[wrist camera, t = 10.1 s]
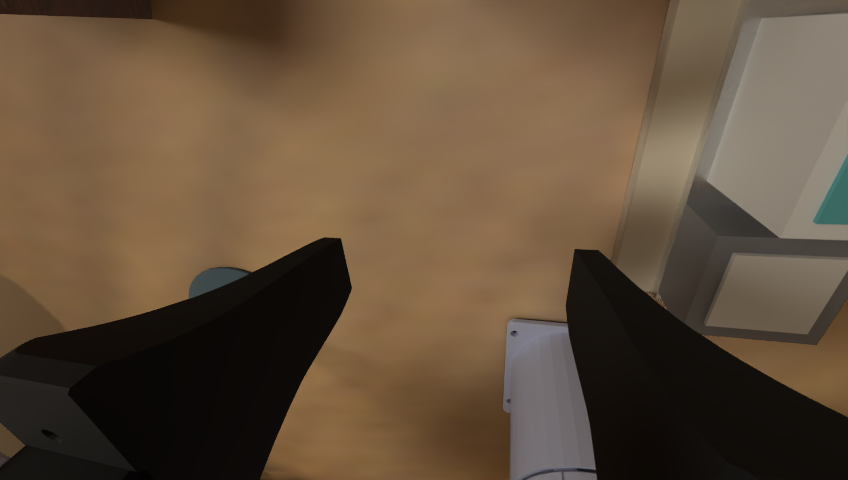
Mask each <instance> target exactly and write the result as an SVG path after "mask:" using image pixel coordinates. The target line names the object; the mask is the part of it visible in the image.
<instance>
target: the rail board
mask: <svg viewBox="0 0 848 480" xmlns="http://www.w3.org/2000/svg"><path fill="white" fill-rule="evenodd" d="M741 1H742V0H670V2H669V7H668V11H667V16H666V20H665V25H664V29H663V34H662V38H661V43H660V47H659V51H658V56H657V60H656V65H655V69H654V74H653V78H652V83H651V87H650V91H649V96H648V100H647V105H646V109H645V114H644V118H643V123H642V127H641V132H640V136H639V140H638V145H637V149H636V154H635V158H634V163H633V167H632V172H631V176H630V181H629V185H628V189H627V194H626V198H625V203H624V207H623V212H622V216H621V221H620V225H619V229H618V234H617V238H616V243H615V247H614V252H613V256H612V261H611V262H612V263H613V264H614V265H615V266H616V267H617V268H618V269H619V270H620V271H621V272H623V273H624V274H625V275H626V276H627V277H628V278H629V279H630V280H631V281H632V282H634V283H635V284H636V285H637V286H638V287H639V288H640V289H642V290H643V291H648V292H652V289H653V286H654V283H655V280H656V276H657V273H658V270H659V267H660V263H661V260H662V257H663V254H664V250H665V247H666V244H667V241H668V237H669V234H670V231H671V228H672V224H673V221H674V218H675V215H676V211H677V208H678V205H679V202H680V199H681V195H682V192H683V189H684V186H685V182H686V179H687V176H688V173H689V169H690V166H691V163H692V160H693V156H694V153H695V150H696V147H697V143H698V140H699V137H700V134H701V130H702V127H703V124H704V121H705V117H706V114H707V111H708V108H709V104H710V101H711V98H712V95H713V92H714V88H715V85H716V82H717V79H718V75H719V72H720V69H721V66H722V62H723V59H724V56H725V53H726V49H727V46H728V43H729V40H730V36H731V33H732V30H733V27H734V23H735V20H736V17H737V14H738V10H739V7H740V4H741Z"/></svg>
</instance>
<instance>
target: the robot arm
mask: <svg viewBox="0 0 848 480" xmlns="http://www.w3.org/2000/svg"><path fill="white" fill-rule="evenodd" d="M351 289H352V286H351V282H350V277H349V273H348V268H347V264H346V259H345V255H344V250H343V246H342V241H341V238H322V239H319V240H317V241H314V242H312V243H310V244H308V245H306V246H304V247H302V248H300V249H298V250H296V251H294V252H292V253H290V254H288V255H286V256H284V257H282V258H280V259H279V260H277V261H275V262H273V263H271V264H269V265H267V266H265V267H263V268H261V269H258V270H256V271H254V272H252V273H250V274H248V275H246V276H244V277H242V278H240V279H238V280H235V281H233V282H231V283H229V284H226V285H224V286H221V287H219V288H217V289H214V290H211V291H209V292H206V293H204V294H201V295H199V296H196V297H193V298H190V299H187V300H184V301H181V302H178V303H175V304H172V305H169V306H166V307H163V308H160V309H157V310H153V311H150V312H147V313H143V314H139V315H136V316H132V317H129V318H125V319H121V320H117V321H113V322H109V323H105V324H100V325H96V326H92V327H87V328H82V329H77V330H73V331H68V332H63V333H58V334H54V335H48V336H43V337H38V338H34V339H32V340H30V341H28V342H26V343H24V344H22V345H20V346H19V347H17V348H15V349H14V350H12V351H10V352H9V353H7V354H6V355H4V356H3V357H1V358H0V423H1V424H2V425H4V426H5V427H6V428H7V429H8V430H9V431H10V432H11V433H12V434H13V435H15V436H16V437H17V438H18V439H19V440H20V441H21V442H22V443H23V444H24V445H26V446H25V447H23V448H22V449H21V450H20V451H19V452H18V453H16V454H15V455H14V456H13V457H12V458H10V457H9V456H6V455H5V454H3V453H1V452H0V480H260V477H261V475H262V472H263V470H264V467H265V465H266V462H267V460H268V457H269V454H270V452H271V449H272V447H273V444H274V442H275V439H276V437H277V435H278V433H279V430H280V428H281V426H282V423H283V421H284V419H285V416H286V414H287V412H288V409H289V407H290V405H291V403H292V401H293V399H294V397H295V394H296V392H297V390H298V388H299V386H300V384H301V382H302V380H303V378H304V376H305V374H306V373H307V371H308V369H309V367H310V366H311V364H312V362H313V361H314V359H315V357H316V356H317V354H318V352H319V351H320V349H321V347H322V346H323V344H324V342H325V341H326V339H327V337H328V336H329V334H330V333H331V331H332V329H333V327H334V326H335V324H336V322H337V321H338V319H339V317H340V315H341V314H342V311H343V309H344V307H345V304H346V302H347V300H348V297H349V294H350V292H351ZM566 313H567V323H568V324H567V323H556V322H545V321H534V320H523V319H511V320H509V321H508V323H507V338H506V356H505V374H504V392H503V410H504V411H505V412H506V413H510V414H511V415H510V480H848V417H846V416H844V415H842V414H840V413H838V412H836V411H834V410H832V409H830V408H828V407H826V406H824V405H822V404H820V403H818V402H816V401H814V400H812V399H810V398H808V397H806V396H804V395H802V394H800V393H799V392H797V391H795V390H793V389H791V388H789V387H787V386H785V385H784V384H782V383H780V382H778V381H776V380H774V379H773V378H771V377H769V376H767V375H766V374H764V373H762V372H760V371H759V370H757V369H755V368H753V367H752V366H750V365H748V364H747V363H745V362H743V361H741V360H740V359H738V358H736V357H735V356H733V355H731V354H730V353H728V352H727V351H725V350H723V349H722V348H720V347H719V346H717V345H716V344H714V343H713V342H711V341H710V340H708V339H707V338H705V337H704V336H702V335H701V334H699V333H698V332H696V331H695V330H693V329H692V328H690V327H689V326H687V325H686V324H685V323H683V322H682V321H680V320H679V319H678V318H676V317H675V316H674V315H673V314H671V313H670V312H669V311H667V310H666V309H665V308H664V307H662V306H661V305H660V304H658V303H657V302H656V301H655V300H654V299H652V298H651V297H650V296H649V295H647V294H646V293H645V292H644V291H643V290H642V289H640V288H639V287H638V286H637V285H636V284H635V283H634V282H632V281H631V280H630V279H629V278H628V277H627V276H626V275H625V274H624V273H623V272H621V271H620V270H619V269H618V268H617V267H616V266H615V265H614V264H613V263H612V262H611V261H610V260H609V259H608V258H606V257H605V256H604V255H603V254H602V253H601V252H600V251H599V250H583V249H575V251H574V257H573V263H572V270H571V276H570V282H569V288H568V295H567V301H566ZM512 331H517V332H512Z"/></svg>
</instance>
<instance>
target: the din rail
mask: <svg viewBox="0 0 848 480" xmlns="http://www.w3.org/2000/svg"><path fill="white" fill-rule="evenodd" d="M839 11H848V0H742V1H741V4H740V7H739V10H738V14H737V17H736V20H735V23H734V27H733V30H732V33H731V36H730V40H729V43H728V46H727V49H726V53H725V56H724V59H723V62H722V66H721V69H720V72H719V75H718V79H717V82H716V85H715V88H714V92H713V95H712V98H711V101H710V104H709V108H708V111H707V114H706V117H705V121H704V124H703V127H702V130H701V134H700V137H699V140H698V143H697V147H696V150H695V153H694V156H693V160H692V163H691V166H690V169H689V173H688V176H687V179H686V182H685V186H684V189H683V192H682V195H681V199H680V202H679V205H678V208H677V211H676V215H675V218H674V221H673V224H672V228H671V231H670V234H669V237H668V241H667V244H666V247H665V250H664V254H663V257H662V260H661V263H660V267H659V270H658V273H657V276H656V280H655V283H654V286H653V289H652V293H653V295H654V297H655V299H662V298H661V296H660V294H659V293H658V289H659V286H660V283H661V280H662V277H663V274H664V270H665V267H666V264H667V261H668V258H669V255H670V252H671V249H672V245H673V242H674V239H675V236H676V233H677V230H678V227H679V223H680V220H681V217H682V214H683V211H684V208H685V205H686V204H736V203H734V202H733V201H732V200H730V199H729V198H728V197H727V196H725V195H724V194H723V193H721V192H720V191H719V190H718V189H716V188H715V187H714V186H712V185H711V184H710V183H709V182H707V180H708V177H709V174H710V171H711V168H712V165H713V162H714V159H715V156H716V153H717V150H718V147H719V144H720V141H721V138H722V135H723V132H724V129H725V126H726V123H727V120H728V117H729V114H730V111H731V108H732V105H733V102H734V99H735V96H736V93H737V90H738V87H739V84H740V81H741V78H742V75H743V72H744V69H745V66H746V63H747V60H748V57H749V54H750V51H751V48H752V45H753V42H754V39H755V37H756V34H757V31H758V28H759V25H760V22H761V19H762V18H770V17H781V16H793V15H805V14H816V13H828V12H839Z"/></svg>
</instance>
